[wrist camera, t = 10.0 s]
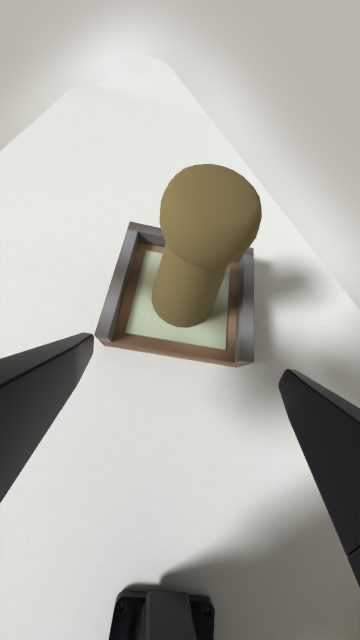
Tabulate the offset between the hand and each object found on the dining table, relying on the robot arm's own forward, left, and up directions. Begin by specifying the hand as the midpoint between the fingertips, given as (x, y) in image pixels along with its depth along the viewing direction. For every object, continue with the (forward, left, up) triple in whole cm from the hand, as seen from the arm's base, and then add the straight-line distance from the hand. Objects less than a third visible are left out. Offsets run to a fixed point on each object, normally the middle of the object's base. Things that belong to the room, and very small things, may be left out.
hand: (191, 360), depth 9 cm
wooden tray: (+8, 0, -10) cm, 13 cm away
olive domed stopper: (+7, 0, -8) cm, 11 cm away
